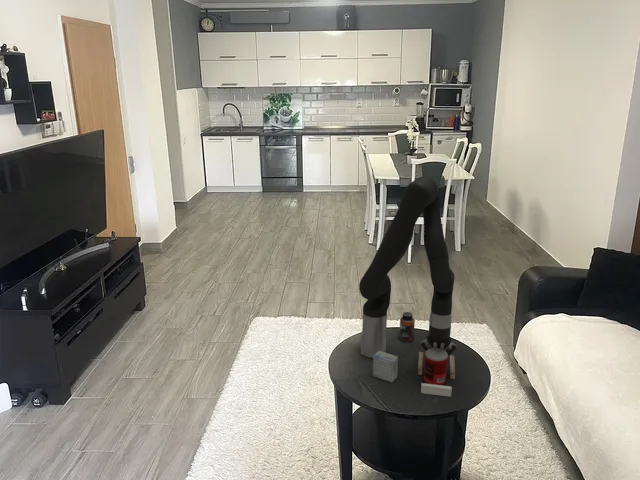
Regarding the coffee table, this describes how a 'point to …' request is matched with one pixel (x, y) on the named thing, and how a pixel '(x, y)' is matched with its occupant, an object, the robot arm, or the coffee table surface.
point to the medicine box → (385, 366)
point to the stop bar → (436, 389)
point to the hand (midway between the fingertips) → (436, 366)
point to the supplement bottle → (407, 327)
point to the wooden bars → (452, 365)
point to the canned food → (435, 366)
